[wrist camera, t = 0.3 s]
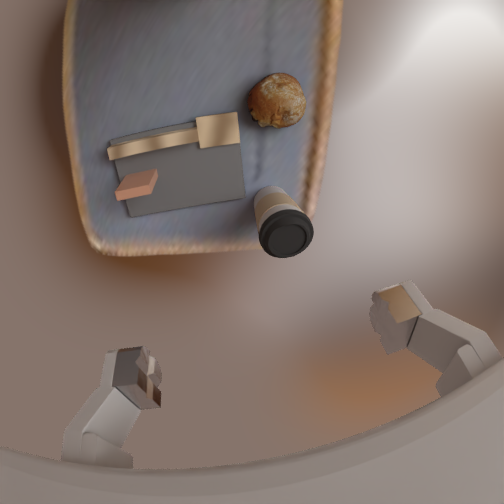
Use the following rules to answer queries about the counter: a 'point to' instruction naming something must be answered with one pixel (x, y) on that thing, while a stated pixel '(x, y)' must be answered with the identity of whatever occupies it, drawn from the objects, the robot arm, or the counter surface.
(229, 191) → the mat
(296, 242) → the coffee cup
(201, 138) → the spatula
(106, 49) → the counter surface
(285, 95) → the bread roll
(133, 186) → the tile
